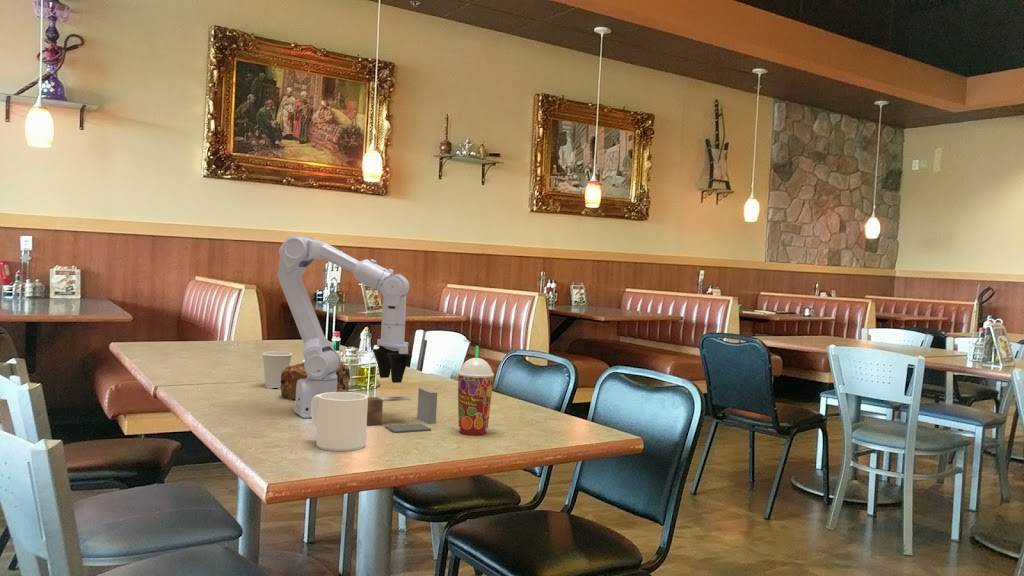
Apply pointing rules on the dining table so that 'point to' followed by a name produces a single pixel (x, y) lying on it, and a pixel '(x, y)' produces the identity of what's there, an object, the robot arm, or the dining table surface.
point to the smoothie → (474, 395)
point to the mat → (407, 428)
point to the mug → (340, 420)
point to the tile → (427, 405)
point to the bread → (298, 372)
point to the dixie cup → (275, 367)
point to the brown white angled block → (379, 408)
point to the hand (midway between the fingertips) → (390, 380)
